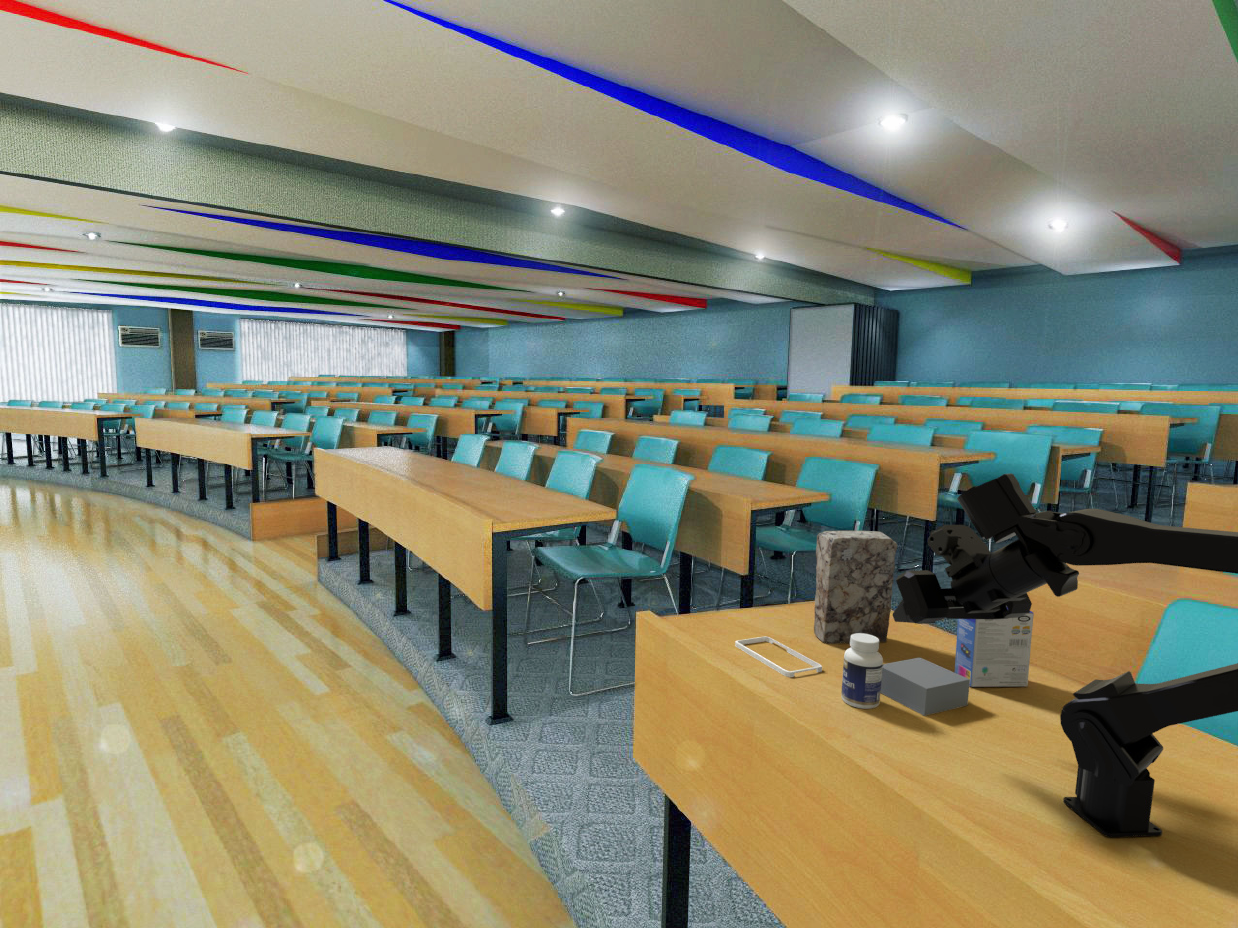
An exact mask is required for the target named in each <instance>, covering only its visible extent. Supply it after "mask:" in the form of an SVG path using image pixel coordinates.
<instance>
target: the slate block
mask: <svg viewBox="0 0 1238 928" xmlns="http://www.w3.org/2000/svg"><path fill="white" fill-rule="evenodd" d="M969 685H970V679H968V678H966V677H963V676H961V675H959V674H957V673H955V671H952V670H950V669H947V668H944V667H943V666H940V665H937V664H935V663H933V662H931V661H929V660H927V659H924V658H922V657H915V658H910V659H904V660H900V661H893V662H888V663H883V667H882V681H881V693H880V694H882V695H884V696H886V697H887V698H889V699H891V700H893V701H895V702H897V703H899V704H901V705H903V706H905V707H906V708H909V709H910V710H912V711H914V712H916V713H918V714H920V715H921V716H923V717H925V716H929V715H933V714H938V713H942V712H946V711H950V710H955V709H959V708H962V707H967V706H968V704H969V693H970V686H969Z"/></svg>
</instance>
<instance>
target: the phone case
mask: <svg viewBox="0 0 1238 928" xmlns="http://www.w3.org/2000/svg"><path fill="white" fill-rule="evenodd" d="M762 642H767V643H770V644H776V645H778V646H779V647H781V648H783V649H785V650H786V653H788V654H790V655H792V656H793V657H795V658H797V659H799V661H802V662H804V663H806V664H807V665H810V666H811V667H807V668H802V669H801V668H800V669H796V670H795V669H794V670H787V669H785V668H783V667H781V666H780V665H777V664H776V663H775V662H773V661H771V660H769V659H768V658H765V657H764V656H763V655H761V654H759V653H758V652H756V651H754V650H752V649H751V648H748V646H745V645H748V644H755V643H762ZM734 646H735V647H736V648H737V649H739V650H740V649H741V651H743V652H744V653H746V654H747V655H749V657H750V656H751V657H752V658H754V659H755V660H757V661H760V662H761V663H762V664H764V665H765V666H767V667H769V668H771V669H773V670H774V671H776V672H778V673H779V674H781V675H782V676H784V677H786V678H793V677H795V674H798V673H802V672H803V673H804V672H808V671H814V670H815V671H816V673H822V671H823V665H822V664H820V663H819V662H816V661H815V660H813V659H811V658H809V657H807V656H805V655H803V654H802V653H800V652H798V651H797V650H795V649H792V648H791V647H788V646H787V645H785V644H783V643H782V642H779V641H778V640H776V639H773V638H772V637H770V636H765V635H764V636H759V637H752V638H751V637H750V638H746V639H738V640H735V642H734Z"/></svg>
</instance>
